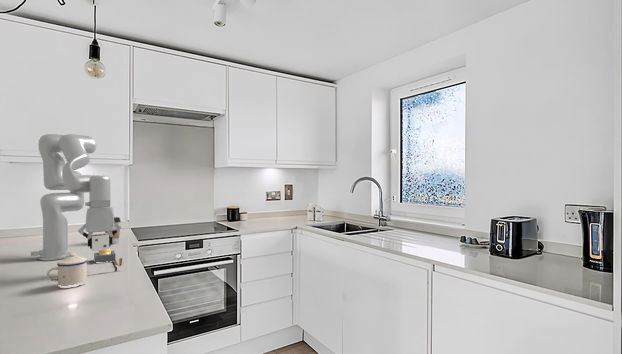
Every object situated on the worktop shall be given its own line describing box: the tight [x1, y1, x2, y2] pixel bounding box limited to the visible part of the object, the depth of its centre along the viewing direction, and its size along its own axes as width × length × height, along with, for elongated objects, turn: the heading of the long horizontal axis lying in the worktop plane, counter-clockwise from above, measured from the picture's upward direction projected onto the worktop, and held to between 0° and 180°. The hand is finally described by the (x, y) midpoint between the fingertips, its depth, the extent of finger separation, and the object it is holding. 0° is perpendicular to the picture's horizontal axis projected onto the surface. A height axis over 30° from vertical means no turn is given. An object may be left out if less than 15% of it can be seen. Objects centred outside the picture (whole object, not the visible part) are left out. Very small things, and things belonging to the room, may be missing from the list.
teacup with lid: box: [46, 252, 88, 286], centre depth 121 cm, size 12×9×12 cm
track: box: [112, 257, 123, 266], centre depth 143 cm, size 17×19×3 cm
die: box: [91, 232, 110, 252], centre depth 140 cm, size 6×6×6 cm
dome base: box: [93, 250, 116, 264], centre depth 156 cm, size 8×8×3 cm
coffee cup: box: [104, 216, 121, 245], centre depth 194 cm, size 8×8×15 cm
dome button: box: [97, 247, 112, 255], centre depth 156 cm, size 5×5×6 cm
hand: (100, 246), depth 140 cm, fingers closed on die, 6 cm apart
